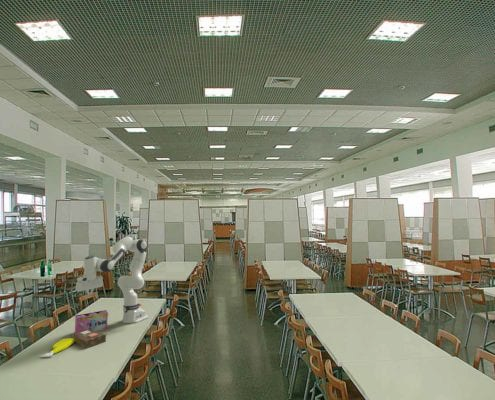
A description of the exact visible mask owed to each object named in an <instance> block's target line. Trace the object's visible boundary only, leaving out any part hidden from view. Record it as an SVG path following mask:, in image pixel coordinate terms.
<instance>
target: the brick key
mask: <svg viewBox="0 0 495 400" xmlns="http://www.w3.org/2000/svg"><path fill="white" fill-rule="evenodd" d="M96 336H98V334H96V333H92V334H89V335H87V337H89V338H94V337H96Z"/></svg>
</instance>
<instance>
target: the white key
mask: <svg viewBox="0 0 495 400" xmlns="http://www.w3.org/2000/svg"><path fill="white" fill-rule="evenodd" d="M90 333H91V332H90V331H88V330H87V331H84V332H80V334H81V335H87V334H90Z"/></svg>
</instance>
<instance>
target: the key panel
mask: <svg viewBox="0 0 495 400" xmlns="http://www.w3.org/2000/svg"><path fill="white" fill-rule="evenodd" d="M88 331H90V332H91V333H90V334H92V333H96V334H98V336H96V337H94V338H89V337H87V335H89V334H87V335H81V334H80V333H77V334H75V333H74V334H72V337H71V338H74V339H75V342H74V343H73V344H76V345H78V346H80V347H83V348H85V349H88V348H91V347H94V346H98V345H100V344H102V343H105V342H106V341H107V340H106V339H107V334H106V333H103V332H101V331H95V330H92V329H90V330H88Z"/></svg>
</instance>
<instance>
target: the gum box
mask: <svg viewBox="0 0 495 400" xmlns="http://www.w3.org/2000/svg"><path fill="white" fill-rule="evenodd" d="M74 317H75V318H74V319H75V320H74V334H77V333H80V332H84V331H87V330H90V329H92V330H95V331H98V332H101V331H105V330H107V329H108V320H109V319H108V318H109V312H108V310H106V309H105V310H100V311H94V312H89V313H82V314H81V313H80V314H77V315H76V314H75V316H74Z"/></svg>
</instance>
